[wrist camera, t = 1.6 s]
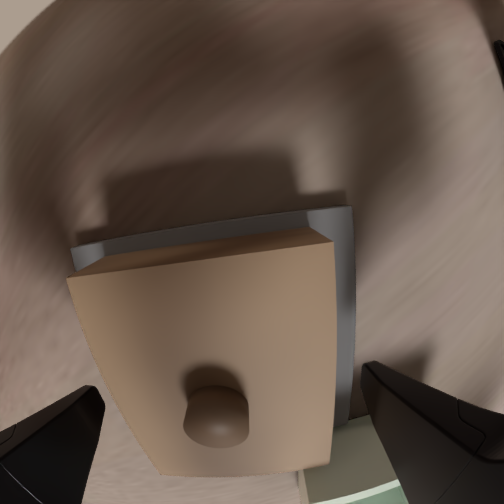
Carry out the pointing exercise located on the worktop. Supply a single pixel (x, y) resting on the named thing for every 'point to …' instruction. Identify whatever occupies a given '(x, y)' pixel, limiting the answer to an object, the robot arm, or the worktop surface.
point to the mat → (320, 219)
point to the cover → (219, 350)
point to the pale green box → (353, 470)
